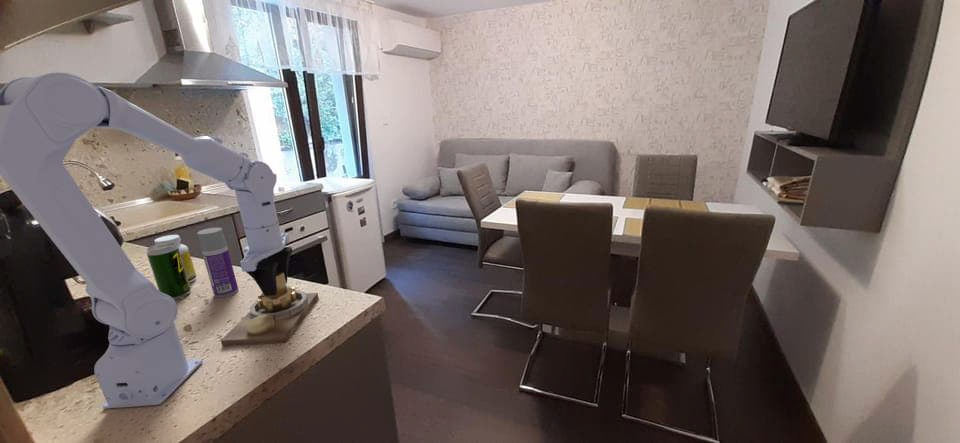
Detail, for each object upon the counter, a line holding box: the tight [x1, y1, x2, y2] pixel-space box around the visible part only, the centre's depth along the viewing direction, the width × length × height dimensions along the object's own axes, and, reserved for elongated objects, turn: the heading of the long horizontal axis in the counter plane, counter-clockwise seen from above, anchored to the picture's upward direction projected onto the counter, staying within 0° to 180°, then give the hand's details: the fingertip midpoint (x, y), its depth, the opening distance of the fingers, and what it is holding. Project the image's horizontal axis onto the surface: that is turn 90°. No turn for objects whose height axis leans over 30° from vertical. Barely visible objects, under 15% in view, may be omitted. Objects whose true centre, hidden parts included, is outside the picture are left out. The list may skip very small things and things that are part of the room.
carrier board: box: [220, 289, 319, 347], centre depth 73 cm, size 16×11×3 cm
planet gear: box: [256, 271, 296, 311], centre depth 74 cm, size 7×7×6 cm
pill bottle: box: [154, 234, 197, 284], centre depth 89 cm, size 6×6×12 cm
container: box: [196, 227, 239, 299], centre depth 82 cm, size 5×5×15 cm
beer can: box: [146, 242, 192, 301], centre depth 82 cm, size 5×5×12 cm
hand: (276, 289), depth 74 cm, fingers closed on planet gear, 4 cm apart
